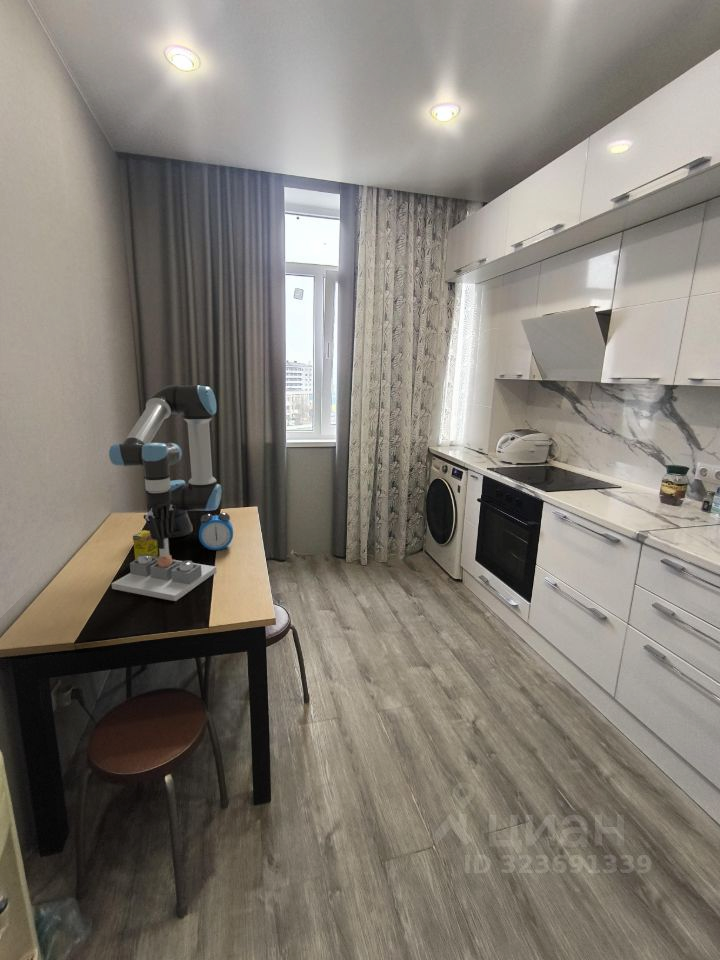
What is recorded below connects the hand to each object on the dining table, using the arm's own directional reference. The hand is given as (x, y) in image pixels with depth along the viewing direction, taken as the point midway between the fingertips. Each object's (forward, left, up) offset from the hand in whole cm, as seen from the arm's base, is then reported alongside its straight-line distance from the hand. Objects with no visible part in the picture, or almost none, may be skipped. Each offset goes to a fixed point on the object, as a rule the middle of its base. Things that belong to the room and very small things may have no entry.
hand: (164, 556), depth 150 cm
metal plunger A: (0, -8, -6) cm, 11 cm away
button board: (0, 0, -9) cm, 9 cm away
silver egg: (0, +9, -6) cm, 11 cm away
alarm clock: (-30, 0, -9) cm, 31 cm away
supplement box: (-11, -18, -9) cm, 23 cm away
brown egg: (0, 0, -5) cm, 5 cm away
